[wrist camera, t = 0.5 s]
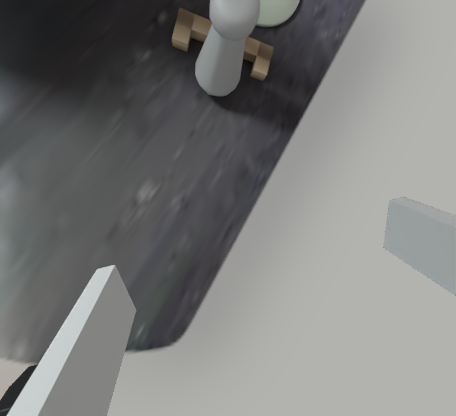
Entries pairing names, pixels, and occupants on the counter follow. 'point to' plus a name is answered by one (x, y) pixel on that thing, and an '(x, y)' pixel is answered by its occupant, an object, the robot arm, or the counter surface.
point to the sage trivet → (275, 12)
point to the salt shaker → (225, 45)
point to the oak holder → (199, 28)
